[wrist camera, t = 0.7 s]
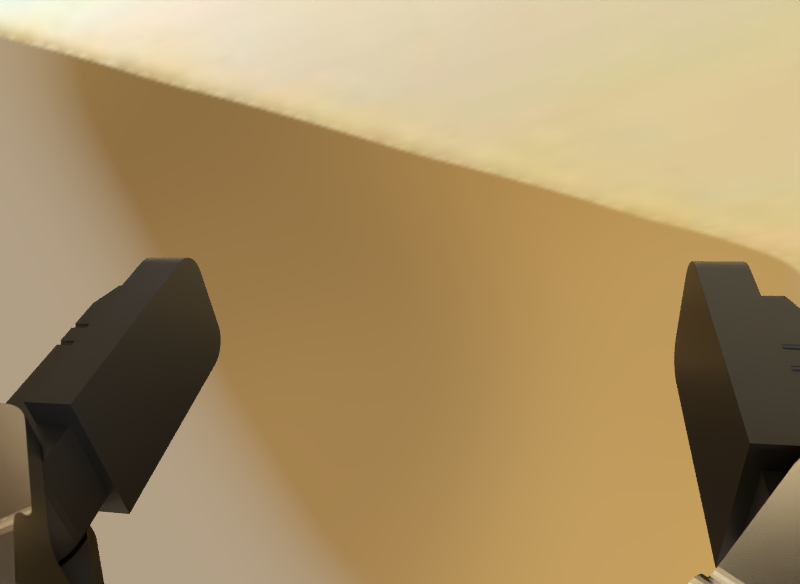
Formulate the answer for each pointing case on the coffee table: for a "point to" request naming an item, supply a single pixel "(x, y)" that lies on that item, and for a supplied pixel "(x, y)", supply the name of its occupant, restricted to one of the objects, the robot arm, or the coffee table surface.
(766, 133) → the coffee table surface
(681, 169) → the coffee table surface
